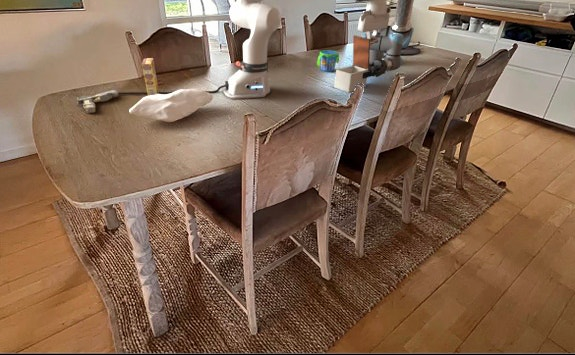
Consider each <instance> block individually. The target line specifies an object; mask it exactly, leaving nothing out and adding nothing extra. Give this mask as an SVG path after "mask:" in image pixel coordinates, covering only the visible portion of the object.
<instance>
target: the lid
mask: <svg viewBox="0 0 575 355" xmlns="http://www.w3.org/2000/svg"><path fill="white" fill-rule="evenodd" d="M370 42H371V43H370ZM377 42H378V39H373V38H372V40H370V39H368V38H367V37H365V38H364V37H362V36H359V35H353V37H352V65H357V66H360V67H364V68H367V69H368V68H369V57H370V45H372V44H374V43H377Z"/></svg>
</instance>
